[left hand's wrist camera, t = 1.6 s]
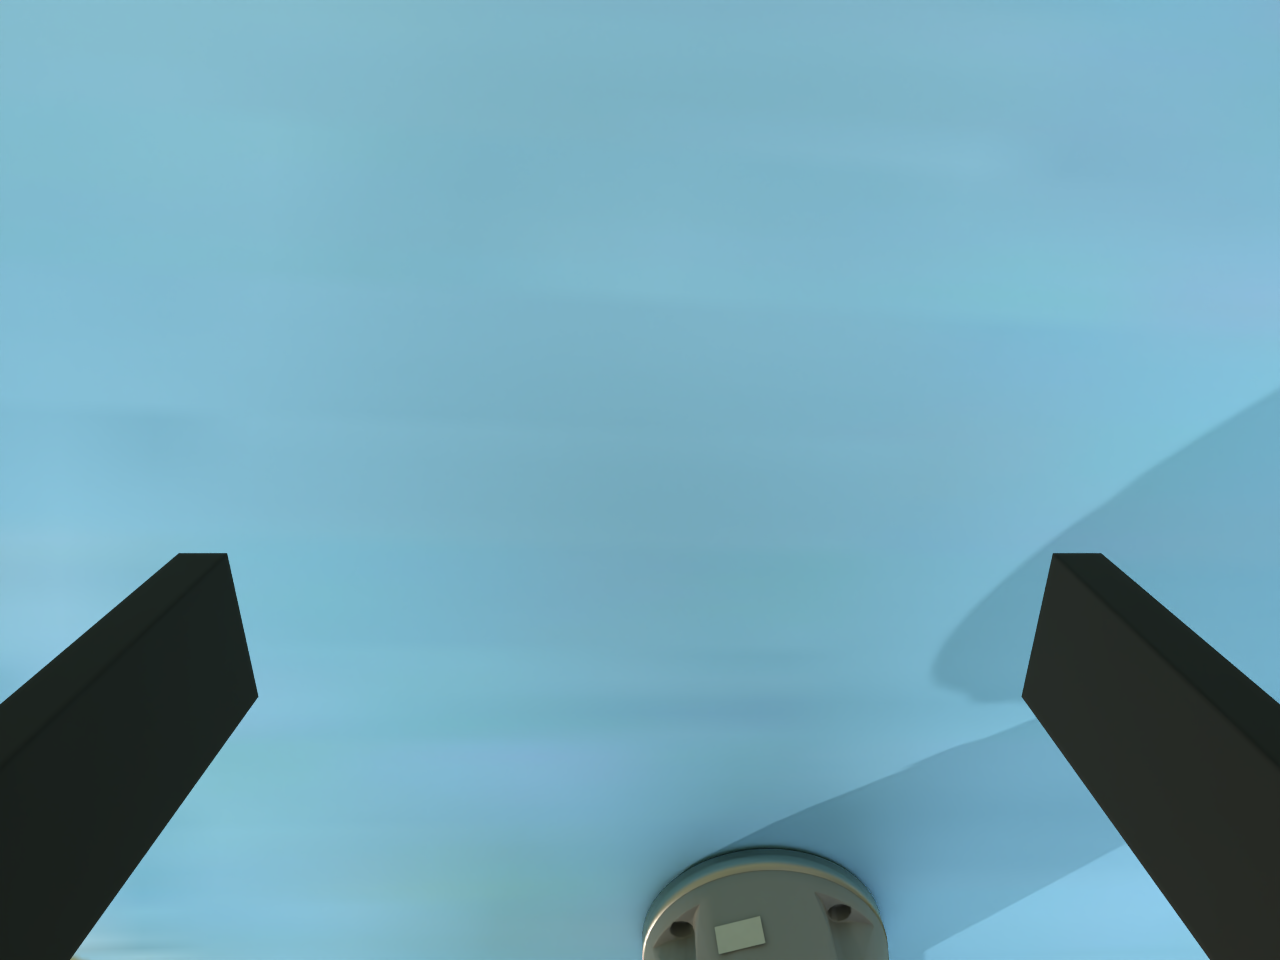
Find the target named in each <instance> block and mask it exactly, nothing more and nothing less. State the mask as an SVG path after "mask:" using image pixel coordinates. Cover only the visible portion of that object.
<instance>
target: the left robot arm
mask: <svg viewBox="0 0 1280 960" xmlns="http://www.w3.org/2000/svg"><path fill="white" fill-rule="evenodd" d="M257 698H258V693H257V688H256V683H255V679H254V674H253V670H252V665H251V661H250V656H249V651H248V647H247V642H246V638H245V633H244V629H243V624H242V619H241V615H240V610H239V606H238V601H237V597H236V592H235V587H234V583H233V578H232V574H231V569H230V564H229V560H228V555H227V553H179V554H177V555H176V556H175V557H174V558H173V559H172V560H170V561H169V562H168V563H167V564H166V565H164V566H163V567H162V568H161V569H160V570H159V571H157V572H156V573H155V574H154V575H153V576H151V577H150V578H149V579H148V580H147V581H146V582H144V583H143V584H142V585H141V586H140V587H138V588H137V589H136V590H135V591H134V592H133V593H131V594H130V595H129V596H128V597H127V598H125V599H124V600H123V601H122V602H121V603H120V604H118V605H117V606H116V607H115V608H114V609H112V610H111V611H110V612H109V613H108V614H107V615H105V616H104V617H103V618H102V619H101V620H99V621H98V622H97V623H96V624H95V625H93V626H92V627H91V628H90V629H89V630H88V631H86V632H85V633H84V634H83V635H82V636H80V637H79V638H78V639H77V640H76V641H75V642H73V643H72V644H71V645H70V646H69V647H67V648H66V649H65V650H64V651H63V652H62V653H60V654H59V655H58V656H57V657H56V658H54V659H53V660H52V661H51V662H50V663H49V664H47V665H46V666H45V667H44V668H43V669H41V670H40V671H39V672H38V673H37V674H36V675H34V676H33V677H32V678H31V679H30V680H28V681H27V682H26V683H25V684H24V685H23V686H21V687H20V688H19V689H18V690H17V691H15V692H14V693H13V694H12V695H11V696H10V697H8V698H7V699H6V700H5V701H4V702H2V703H1V704H0V960H70V959H71V958H72V956H73V955H74V953H75V952H76V951H77V949H78V948H79V946H80V945H81V944H82V942H83V941H84V939H85V938H86V937H87V935H88V934H89V932H90V931H91V930H92V928H93V927H94V925H95V924H96V923H97V921H98V920H99V918H100V917H101V916H102V914H103V913H104V911H105V910H106V909H107V907H108V906H109V904H110V903H111V902H112V900H113V899H114V898H115V896H116V895H117V893H118V892H119V891H120V889H121V888H122V886H123V885H124V884H125V882H126V881H127V879H128V878H129V877H130V875H131V874H132V872H133V871H134V870H135V868H136V867H137V865H138V864H139V863H140V861H141V860H142V858H143V857H144V856H145V854H146V853H147V851H148V850H149V849H150V847H151V846H152V844H153V843H154V842H155V840H156V839H157V837H158V836H159V835H160V833H161V832H162V830H163V829H164V828H165V826H166V825H167V823H168V822H169V821H170V819H171V818H172V816H173V815H174V814H175V812H176V811H177V810H178V808H179V807H180V805H181V804H182V803H183V801H184V800H185V798H186V797H187V796H188V794H189V793H190V791H191V790H192V789H193V787H194V786H195V784H196V783H197V782H198V780H199V779H200V777H201V776H202V775H203V773H204V772H205V770H206V769H207V768H208V766H209V765H210V763H211V762H212V761H213V759H214V758H215V756H216V755H217V754H218V752H219V751H220V749H221V748H222V747H223V745H224V744H225V742H226V741H227V740H228V738H229V737H230V735H231V734H232V733H233V731H234V730H235V728H236V727H237V726H238V724H239V723H240V722H241V720H242V719H243V717H244V716H245V715H246V713H247V712H248V710H249V709H250V708H251V706H252V705H253V703H254V702H255V701H256V699H257ZM1022 698H1023V699H1024V701H1025V702H1026V703H1027V705H1028V706H1029V708H1030V709H1031V710H1032V712H1033V713H1034V715H1035V716H1036V717H1037V719H1038V720H1039V722H1040V723H1041V724H1042V726H1043V727H1044V728H1045V730H1046V731H1047V733H1048V734H1049V735H1050V737H1051V738H1052V740H1053V741H1054V742H1055V744H1056V745H1057V747H1058V748H1059V749H1060V751H1061V752H1062V754H1063V755H1064V756H1065V758H1066V759H1067V761H1068V762H1069V763H1070V765H1071V766H1072V768H1073V769H1074V770H1075V772H1076V773H1077V775H1078V776H1079V777H1080V779H1081V780H1082V782H1083V783H1084V784H1085V786H1086V787H1087V789H1088V790H1089V791H1090V793H1091V794H1092V796H1093V797H1094V798H1095V800H1096V801H1097V803H1098V804H1099V805H1100V807H1101V808H1102V810H1103V811H1104V812H1105V814H1106V815H1107V816H1108V818H1109V819H1110V821H1111V822H1112V823H1113V825H1114V826H1115V828H1116V829H1117V830H1118V832H1119V833H1120V835H1121V836H1122V837H1123V839H1124V840H1125V842H1126V843H1127V844H1128V846H1129V847H1130V849H1131V850H1132V851H1133V853H1134V854H1135V856H1136V857H1137V858H1138V860H1139V861H1140V863H1141V864H1142V865H1143V867H1144V868H1145V870H1146V871H1147V872H1148V874H1149V875H1150V877H1151V878H1152V879H1153V881H1154V882H1155V884H1156V885H1157V886H1158V888H1159V889H1160V891H1161V892H1162V893H1163V895H1164V896H1165V898H1166V899H1167V900H1168V902H1169V903H1170V904H1171V906H1172V907H1173V909H1174V910H1175V911H1176V913H1177V914H1178V916H1179V917H1180V918H1181V920H1182V921H1183V923H1184V924H1185V925H1186V927H1187V928H1188V930H1189V931H1190V932H1191V934H1192V935H1193V937H1194V938H1195V939H1196V941H1197V942H1198V944H1199V945H1200V946H1201V948H1202V949H1203V951H1204V952H1205V953H1206V955H1207V956H1208V958H1209V959H1210V960H1280V704H1279V703H1278V702H1276V701H1275V700H1274V699H1273V698H1272V697H1270V696H1269V695H1268V694H1267V693H1266V692H1265V691H1263V690H1262V689H1261V688H1260V687H1259V686H1257V685H1256V684H1255V683H1254V682H1253V681H1252V680H1250V679H1249V678H1248V677H1247V676H1246V675H1244V674H1243V673H1242V672H1241V671H1240V670H1239V669H1237V668H1236V667H1235V666H1234V665H1233V664H1231V663H1230V662H1229V661H1228V660H1227V659H1226V658H1224V657H1223V656H1222V655H1221V654H1220V653H1218V652H1217V651H1216V650H1215V649H1214V648H1213V647H1211V646H1210V645H1209V644H1208V643H1207V642H1205V641H1204V640H1203V639H1202V638H1201V637H1200V636H1198V635H1197V634H1196V633H1195V632H1194V631H1192V630H1191V629H1190V628H1189V627H1188V626H1187V625H1185V624H1184V623H1183V622H1182V621H1181V620H1179V619H1178V618H1177V617H1176V616H1175V615H1173V614H1172V613H1171V612H1170V611H1169V610H1168V609H1166V608H1165V607H1164V606H1163V605H1162V604H1160V603H1159V602H1158V601H1157V600H1156V599H1155V598H1153V597H1152V596H1151V595H1150V594H1149V593H1147V592H1146V591H1145V590H1144V589H1143V588H1142V587H1140V586H1139V585H1138V584H1137V583H1136V582H1134V581H1133V580H1132V579H1131V578H1130V577H1129V576H1127V575H1126V574H1125V573H1124V572H1123V571H1121V570H1120V569H1119V568H1118V567H1117V566H1116V565H1114V564H1113V563H1112V562H1111V561H1110V560H1108V559H1107V558H1106V557H1105V556H1104V555H1103V554H1101V553H1053V555H1052V560H1051V564H1050V569H1049V574H1048V578H1047V583H1046V587H1045V592H1044V597H1043V601H1042V606H1041V610H1040V615H1039V619H1038V624H1037V629H1036V633H1035V638H1034V642H1033V647H1032V651H1031V656H1030V661H1029V665H1028V670H1027V674H1026V679H1025V683H1024V688H1023V693H1022ZM642 937H643V960H889V954H888V943H887V936H886V933H885V929H884V926H883V923H882V920H881V916H880V913H879V910H878V907H877V905H876V903H875V900H874V899H873V897H872V895H871V894H870V892H869V891H868V890H867V888H866V887H865V886H864V885H863V884H862V883H861V882H860V881H859V880H858V879H857V878H856V877H855V876H854V875H852V874H851V873H850V872H848V871H847V870H845V869H844V868H842V867H841V866H839V865H837V864H835V863H833V862H831V861H828V860H826V859H824V858H821V857H818V856H815V855H812V854H808V853H803V852H799V851H792V850H784V849H753V850H745V851H738V852H733V853H729V854H725V855H721V856H718V857H715V858H712V859H710V860H707V861H704V862H702V863H700V864H698V865H696V866H694V867H692V868H690V869H689V870H687V871H685V872H684V873H682V874H681V875H679V876H678V877H676V878H675V879H674V880H673V881H672V882H670V883H669V884H668V885H667V886H666V887H665V888H664V889H663V890H662V891H661V892H660V893H659V895H658V896H657V897H656V899H655V900H654V902H653V903H652V905H651V907H650V909H649V911H648V913H647V916H646V918H645V922H644V926H643V933H642Z"/></svg>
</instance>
